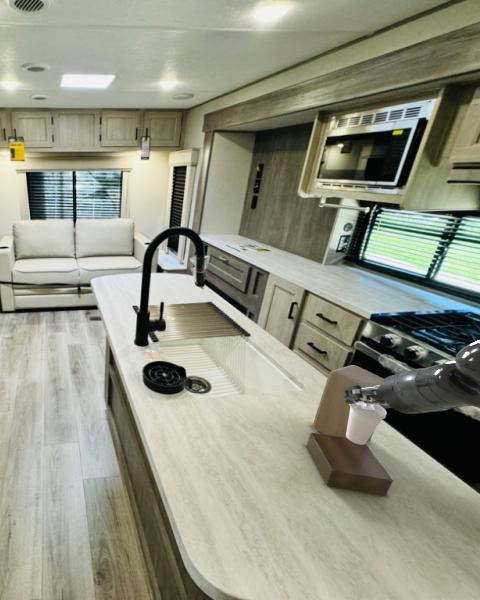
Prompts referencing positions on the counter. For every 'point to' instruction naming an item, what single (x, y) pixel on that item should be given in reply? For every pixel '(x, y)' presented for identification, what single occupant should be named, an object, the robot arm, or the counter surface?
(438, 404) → the robot arm
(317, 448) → the walnut block
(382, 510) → the counter surface
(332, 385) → the wooden block
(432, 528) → the counter surface
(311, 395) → the counter surface
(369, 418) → the smoothie
